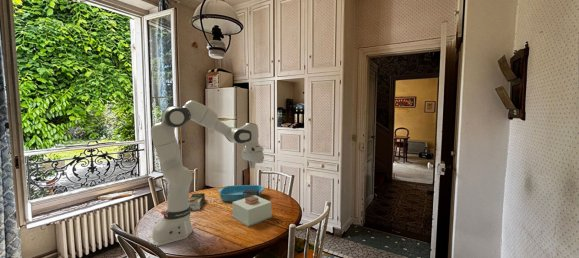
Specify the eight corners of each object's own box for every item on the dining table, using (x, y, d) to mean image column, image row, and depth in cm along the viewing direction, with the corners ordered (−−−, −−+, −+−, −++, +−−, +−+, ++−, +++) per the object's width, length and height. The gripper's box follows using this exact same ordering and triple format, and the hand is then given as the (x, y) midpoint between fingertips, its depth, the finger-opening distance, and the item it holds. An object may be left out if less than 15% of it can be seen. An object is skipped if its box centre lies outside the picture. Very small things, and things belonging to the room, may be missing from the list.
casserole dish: (214, 203, 177) (214, 194, 176) (222, 193, 199) (222, 185, 199) (263, 202, 178) (263, 193, 177) (265, 192, 200) (265, 184, 200)
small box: (259, 203, 176) (259, 189, 176) (257, 206, 170) (257, 192, 169) (245, 202, 178) (245, 189, 177) (243, 206, 171) (242, 191, 170)
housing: (248, 226, 139) (247, 210, 139) (231, 217, 153) (231, 202, 152) (272, 216, 152) (272, 202, 152) (255, 208, 166) (255, 194, 165)
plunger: (250, 218, 148) (250, 200, 147) (245, 215, 153) (245, 198, 152) (258, 215, 152) (258, 198, 152) (253, 212, 157) (252, 195, 156)
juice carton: (200, 210, 164) (200, 201, 164) (185, 211, 163) (185, 203, 162) (205, 200, 184) (205, 192, 184) (192, 201, 182) (191, 193, 182)
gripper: (239, 146, 160) (239, 166, 161) (257, 149, 145) (257, 171, 146) (247, 145, 164) (247, 164, 165) (265, 148, 150) (265, 169, 150)
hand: (252, 167), depth 156 cm, fingers closed
